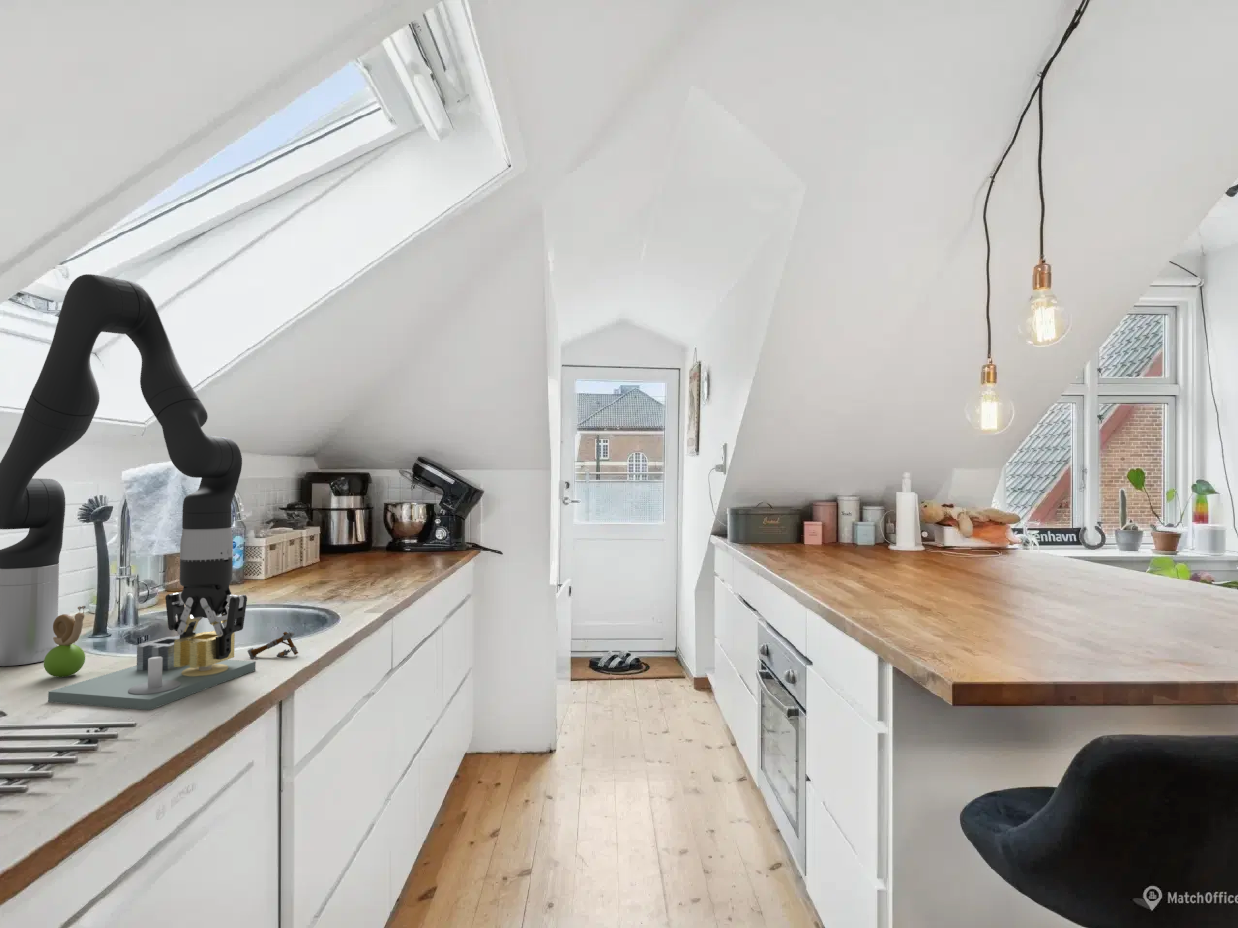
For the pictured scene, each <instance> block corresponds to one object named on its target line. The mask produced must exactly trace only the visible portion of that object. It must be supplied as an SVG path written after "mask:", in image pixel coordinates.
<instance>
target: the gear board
mask: <svg viewBox="0 0 1238 928" xmlns="http://www.w3.org/2000/svg"><path fill="white" fill-rule="evenodd" d="M162 659H163V657H152V658H149V659H148V670H144V671H137V664H136V665H132V666H130V667H126V668H124V669H119V670H116V671H112V672H110V673H106V674H102V675H99V676H96V677H92V678H89V679H86V680H82V681H79V682H76V683H72V684H70V685H66V686H62V687H59V688H56V689H53V690H49V691H48V692H47V697H48V699H47V702H49V703H59V704H74V705H82V706H83V705H85V706H94V707H95V706H97V707H107V708H108V707H109V708H120V709H122V708H123V709H131V710H132V709H134V710H145V711H146V710H147V711H151V710H154V709H156V708H158V707H161V706H164V705H167V704H169V703H172V702H175V701H177V700H180V699H182V698H185V697H188V696H191V695H193V694H195V693H199V692H201V691H204V690H206V689H209V688H212V687H215V686H217V685H220V684H223V683H225V682H228V681H230V680H233V679H236V678H239V677H241V676H244V675H246V674H248V673H249V674H250V673H251V672H254V671H256V661H253V660H238V659H237V660H236V659H235V660H234V659H228V660H225V661H222V662H219V663H216V664H213V665H210V666H207V667H202V666H201V667H198V668H190V666H187V665H185V666H182V667H178V668H175V669H172V670H169V671H164V670H163V671H162Z"/></svg>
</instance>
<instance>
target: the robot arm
mask: <svg viewBox="0 0 1238 928" xmlns="http://www.w3.org/2000/svg"><path fill="white" fill-rule="evenodd" d="M54 330H55V331H54V333H53V338H52V342H51V345H50V347H49V350H48V353H47V355H46V358H45V361H44V363H43V366H42V369H41V370H40V373H39V376H38V378H37V380H36V383H35V384H34V386H33V388H32V391H31V393H30V395H29V397H28V400H27V403H26V404H25V407H24V409H23V412H22V416H21V418H20V421H19V423H18V425H17V429H16V431H15V433H14V436H12V440H11V442H10V444H9V446H8V448H7V450H6V451H5V453H4V455H3V457H2V458H1V460H0V530H23V529H25V530H26V529H29V530H28V533H27V535H26V536H25V537H24V538H22V540H19V541H18V542H17V543H14V544H12V545H9V546H8V547H4V548H1V549H0V667H10V666H13V667H14V666H19V665H29V664H34V663H40V662H44V659H45V656H46V655H47V653H48V652H49V651H50V650H52V649H53V648H55V647H56V646H58V644H56V643H55V642H54V640H53V637H57V636H56V635H55V633H54V631H53V623H54V621H55V619H56V618H57V617H58V616H59V585H60V584H59V583H60V581H59V579H60V572H59V571H60V556H61V555H60V554H61V550H62V549H63V542H64V541H63V539H64V536H63V535H64V526H65V516H66V495H65V490H64V488H63V485H61V483H59V482H58V480H56V479H53V478H33V477H34V476H35V475H36V473H37V472H38V471H39V470H40V469H41V468H42V467H44V465H46V464H47V463H48V462H50V461H51V460H53V459H54V458H55V457H57V456H59V455H60V454H61V453H63V452H64V451H66V450H67V449H68V448H70V447H71V446H73V445H74V444H75V443H77V442H78V441H79V440H80V439H81V438H83V436H84V435H86V432H87V431H88V429H89V428H90V425H91V423H92V421H93V419H94V417H95V415H96V412H97V411H98V410H97V409H98V407H99V404H100V392H99V391H100V389H99V387H98V384H97V381H96V378H95V376H94V372H93V370H92V367H91V356H92V353H93V349H94V346H95V344H96V341H97V339H98V337H99V335H100V334H101V333H111V334H120V335H126V336H127V337H128V338H129V339H130V340H131V341H132V343H133V344H134V345H135V347H136V348H137V350H138V351H139V354H140V357H141V369H140V377H139V378H140V379H139V384H140V391H141V393H142V397H143V398H144V400H145V402H146V404H147V405H148V407H149V409H150V411H151V412H152V413H153V415H154V417H155V419H156V420H157V421H158V423H159V425H160V426H161V428H162V433H163V434H162V435H163V438H164V442H165V445H166V446H165V447H166V449H167V453H168V456H169V458H170V461H171V462H172V464H173V465H174V467H175V468H176V469H177V471H179V472H180V473H182V474H183V475H184V476H187V477H190V478H201V479H200V483H199V486H198V489H197V490H196V491H194V492H191V493H190V494H187V495H186V496H185V497H184V499H183V501H182V502H183V503H182V518H181V520H182V522H181V523H182V525H181V528H182V531H181V536H180V544H179V545H180V546H179V552H180V553H179V585H180V586H182V591H179V592H174V593H168V594H166V595H165V599H164V600H165V608H166V618H167V626H168V629H169V631H175V632H177V634H178V636H180V638H183V637H187V636H191V635H195V634H197V633H196V632H195V631H196V629H197V626H198V624H199V622H200V621H201V620H202V619H203V618H204V619H207V620H208V622H209V624H210V625H211V626H213V628H214V631H215V632H216V634H217V636H218V637H216V659H218V660H221V659H224V658H227V657H228V656H229V654H230V652H231V635H232V634H233V633H234V632H235V633H236V632H240V631H242V630H243V629H244V625H245V624H244V623H245V617H246V610H247V604H248V603H247V602H248V597H247V595H246V594H240V595H238V594H237V595H236V594H232V591H231V589H230V584H231V583H232V581H233V569H234V568H233V564H234V560H233V559H234V558H233V557H234V538H233V533H232V532H233V531H232V524H233V522H232V515H233V513H232V509H233V507H232V503H233V500H234V498H235V495H236V490H237V487H238V483H239V480H240V477H241V472H242V466H243V457H242V456H243V455H242V452H241V450H240V447H239V446H238V444H237V443H236V442H235V441H234V440H233V439H231V438H228V437H225V436H219V435H217V436H216V435H206V434H205V432H204V431H203V429H202V428H203V426H204V425H205V424H206V423H207V422H208V419H209V418H208V412H207V410H206V407H205V406H204V404H203V403H202V401H201V399H200V398H199V396H198V394H197V393H196V391H195V390H194V388H193V387H192V385H191V383H190V381H188V379H187V377H186V375H185V374H184V372H183V369H182V368H181V365H180V364H179V361H178V359H177V356H176V354H175V352H174V348H173V347H172V344H171V341H170V339H169V336H168V334H167V331H166V329H165V327H164V325H163V322H162V320H161V317H160V314H159V312H158V310H157V307H156V305H155V303H154V300H153V298H152V297H151V295H150V294H149V292H148V291H147V290H146V289H145V288H144V287H143V286H141V285H140V284H138V283H136V282H133V281H130V280H124V279H119V278H114V277H110V276H104V275H97V274H91V273H90V274H82V275H79V276H78V277H76V278H75V279H74V280H73V281H72V282H71V284H70V285H69V287H68V288H67V290H66V293H65V295H64V299H63V301H62V305H61V308H60V312H59V315H58V319H57V323H56V327H55V329H54Z"/></svg>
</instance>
